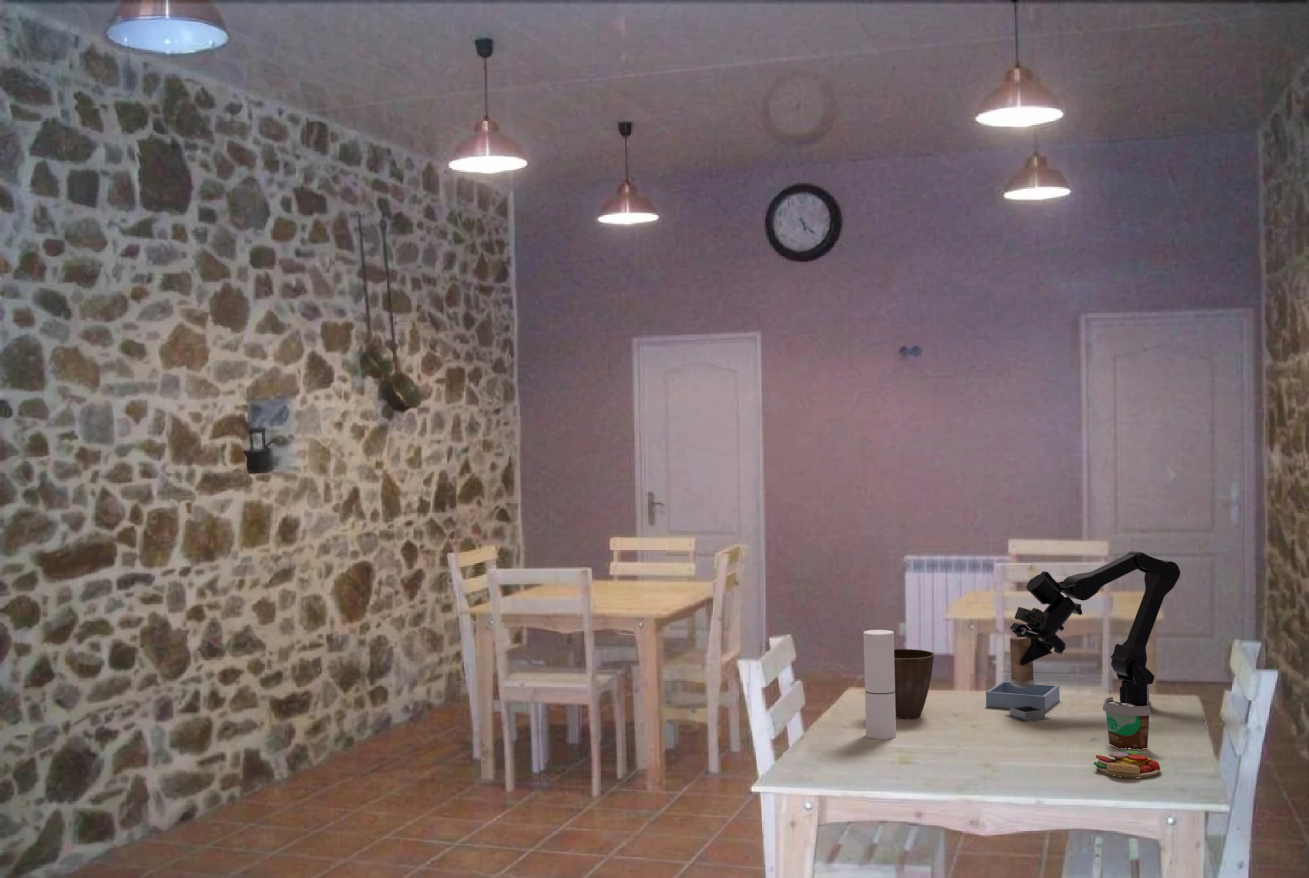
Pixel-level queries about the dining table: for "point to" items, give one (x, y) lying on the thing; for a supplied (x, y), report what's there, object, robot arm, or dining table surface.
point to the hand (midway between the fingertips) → (1016, 662)
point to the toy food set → (1127, 764)
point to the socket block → (1027, 714)
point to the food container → (1127, 724)
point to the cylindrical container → (879, 684)
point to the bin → (1022, 696)
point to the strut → (1020, 673)
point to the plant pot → (911, 681)
